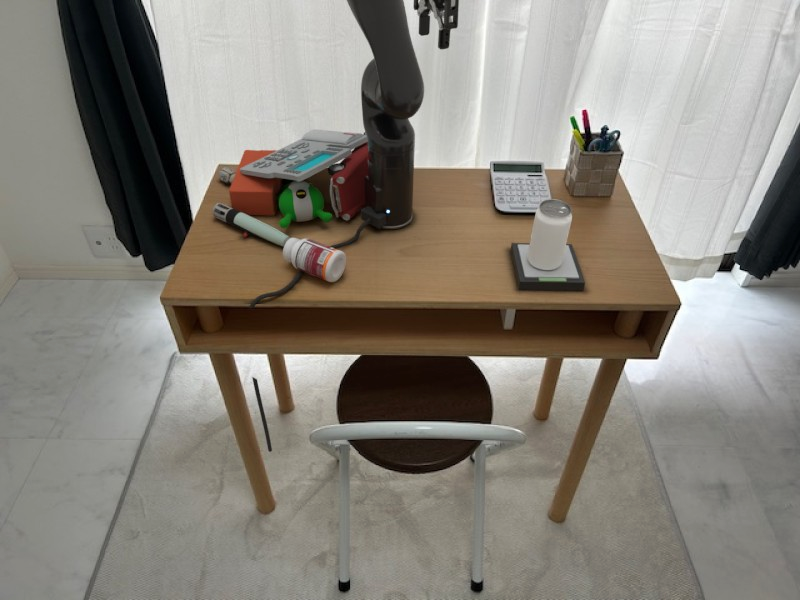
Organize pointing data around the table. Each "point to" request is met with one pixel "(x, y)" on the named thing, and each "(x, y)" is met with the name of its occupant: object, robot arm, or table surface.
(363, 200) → the toy car
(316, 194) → the toy
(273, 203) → the brick
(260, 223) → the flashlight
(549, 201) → the can
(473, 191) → the table surface
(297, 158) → the office telephone
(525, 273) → the scale
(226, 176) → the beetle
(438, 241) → the table surface
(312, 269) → the pill bottle
